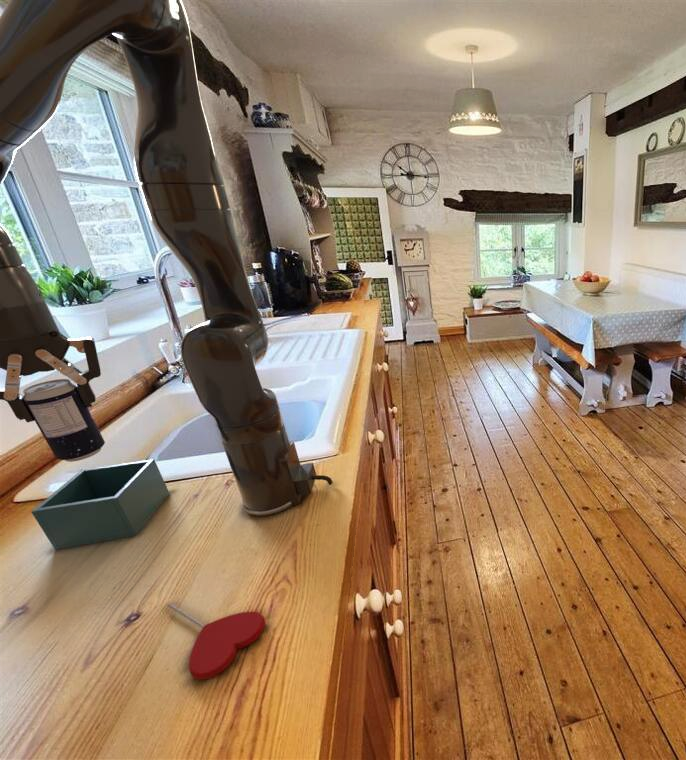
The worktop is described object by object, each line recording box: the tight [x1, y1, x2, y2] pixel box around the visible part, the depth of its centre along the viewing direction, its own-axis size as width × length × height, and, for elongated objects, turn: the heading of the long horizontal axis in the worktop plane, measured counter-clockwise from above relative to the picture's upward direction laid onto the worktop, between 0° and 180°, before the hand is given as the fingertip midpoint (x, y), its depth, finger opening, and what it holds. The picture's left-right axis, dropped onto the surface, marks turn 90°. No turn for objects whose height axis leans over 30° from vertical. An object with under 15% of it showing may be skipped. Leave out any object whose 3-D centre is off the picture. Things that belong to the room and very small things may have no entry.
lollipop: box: [166, 602, 266, 680], centre depth 51 cm, size 8×1×15 cm
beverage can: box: [22, 378, 106, 463], centre depth 63 cm, size 6×6×12 cm
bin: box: [30, 458, 170, 551], centre depth 69 cm, size 11×11×8 cm
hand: (61, 412), depth 62 cm, fingers closed on beverage can, 5 cm apart
